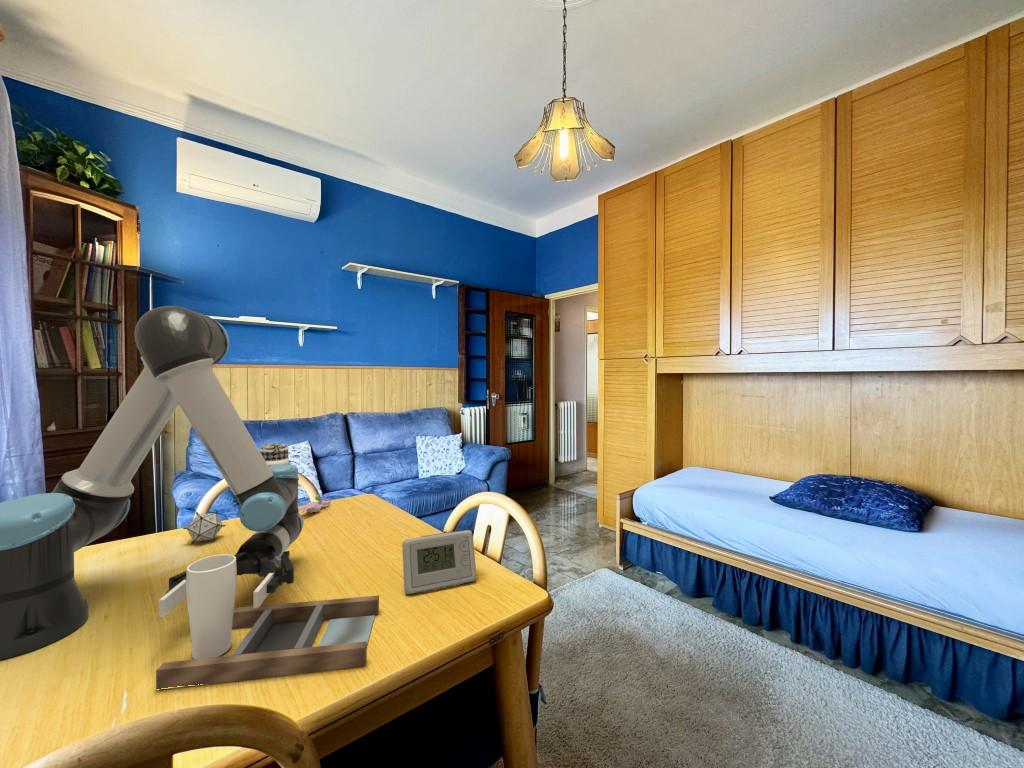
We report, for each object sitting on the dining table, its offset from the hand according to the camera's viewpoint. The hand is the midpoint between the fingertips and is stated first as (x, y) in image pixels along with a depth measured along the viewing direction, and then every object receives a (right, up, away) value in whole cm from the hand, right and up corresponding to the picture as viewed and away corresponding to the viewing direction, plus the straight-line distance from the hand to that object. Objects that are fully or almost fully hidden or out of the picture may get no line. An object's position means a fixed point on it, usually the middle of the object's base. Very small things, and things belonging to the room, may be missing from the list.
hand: (209, 604), depth 65 cm
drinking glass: (-1, -9, +2) cm, 9 cm away
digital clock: (+33, -9, +24) cm, 42 cm away
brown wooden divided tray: (+10, -9, +4) cm, 14 cm away
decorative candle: (-24, -8, +59) cm, 64 cm away
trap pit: (+10, -9, +4) cm, 14 cm away
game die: (-36, -8, +47) cm, 59 cm away
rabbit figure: (-18, -8, +71) cm, 74 cm away
